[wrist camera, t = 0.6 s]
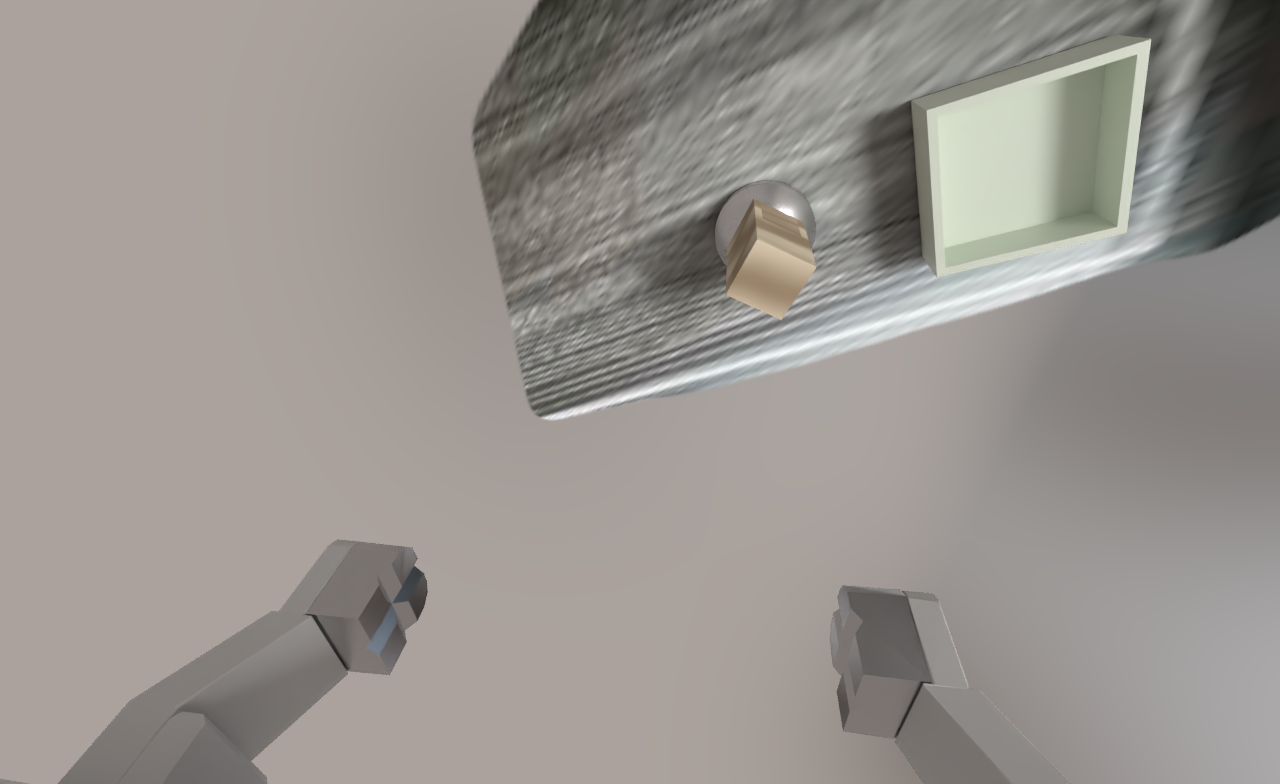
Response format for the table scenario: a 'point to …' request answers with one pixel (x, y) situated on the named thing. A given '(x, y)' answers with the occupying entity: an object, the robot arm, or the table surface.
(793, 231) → the tan rectangular block
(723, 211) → the grey pot lid
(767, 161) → the table surface
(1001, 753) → the robot arm
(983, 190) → the bin
